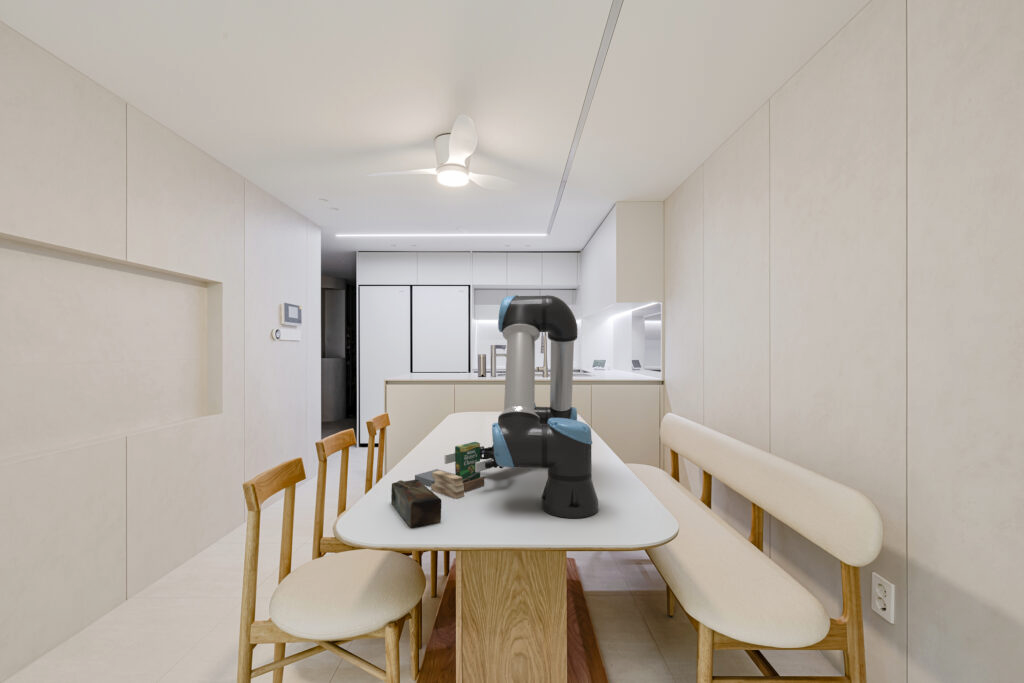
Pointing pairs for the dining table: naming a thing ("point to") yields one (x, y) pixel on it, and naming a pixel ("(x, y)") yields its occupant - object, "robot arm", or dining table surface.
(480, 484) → the walnut rack
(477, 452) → the coffee box
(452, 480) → the offcut stack
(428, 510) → the beverage carton
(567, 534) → the dining table surface
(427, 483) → the stand pad
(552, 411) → the robot arm
